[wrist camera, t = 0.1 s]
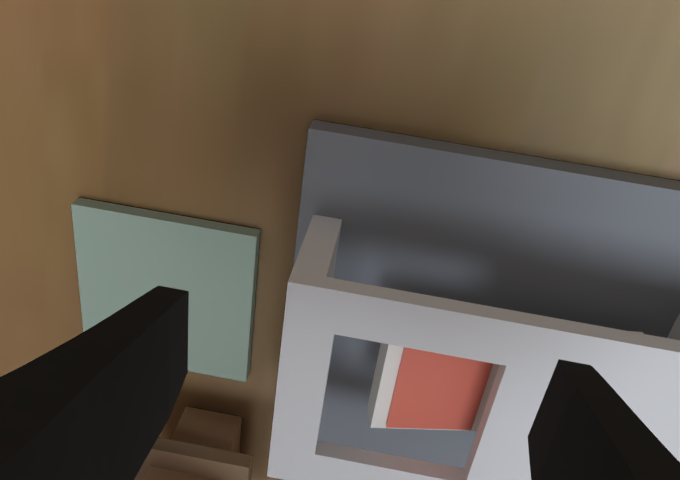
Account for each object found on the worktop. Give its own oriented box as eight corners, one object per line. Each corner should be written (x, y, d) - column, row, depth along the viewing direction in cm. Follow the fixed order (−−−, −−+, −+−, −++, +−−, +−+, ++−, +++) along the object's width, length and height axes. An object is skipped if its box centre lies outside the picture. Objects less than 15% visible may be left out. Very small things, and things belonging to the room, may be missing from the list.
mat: (249, 372, 25) (246, 382, 25) (92, 343, 26) (85, 351, 25) (260, 229, 22) (256, 236, 21) (79, 197, 22) (71, 204, 22)
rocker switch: (599, 419, 22) (613, 442, 21) (365, 411, 21) (370, 435, 20) (643, 326, 20) (661, 347, 19) (387, 311, 19) (392, 333, 18)
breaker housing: (637, 489, 26) (687, 617, 21) (279, 421, 26) (247, 528, 22) (800, 201, 19) (926, 291, 14) (313, 119, 20) (279, 179, 15)
